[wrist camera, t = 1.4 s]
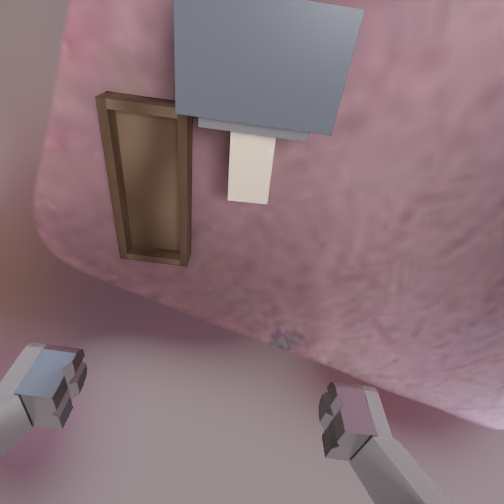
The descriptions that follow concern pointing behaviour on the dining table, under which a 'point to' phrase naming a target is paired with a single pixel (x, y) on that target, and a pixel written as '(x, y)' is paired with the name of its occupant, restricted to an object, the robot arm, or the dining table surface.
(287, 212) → the dining table surface
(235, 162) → the white slab
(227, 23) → the block
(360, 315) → the dining table surface
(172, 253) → the tray
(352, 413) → the robot arm
